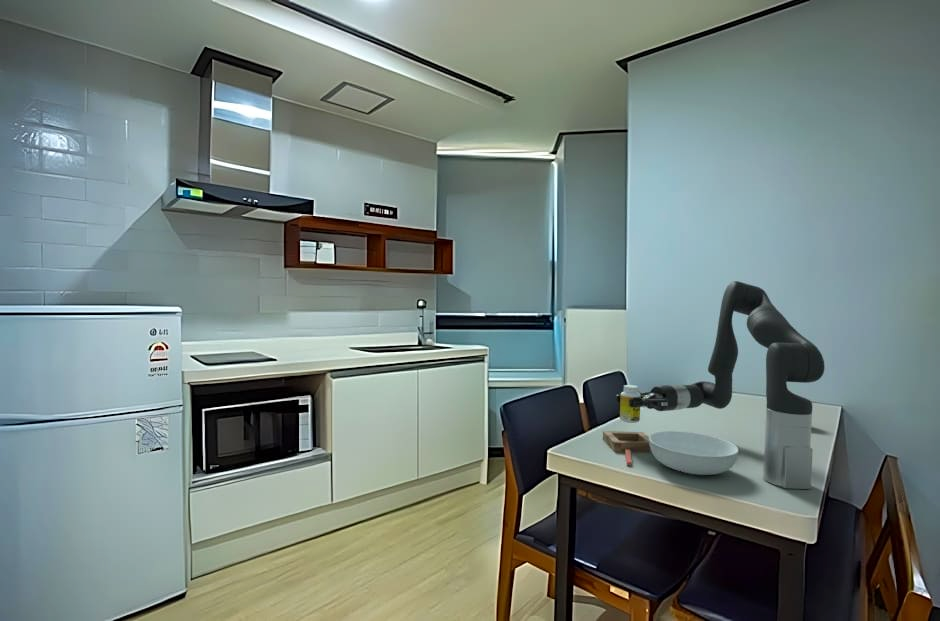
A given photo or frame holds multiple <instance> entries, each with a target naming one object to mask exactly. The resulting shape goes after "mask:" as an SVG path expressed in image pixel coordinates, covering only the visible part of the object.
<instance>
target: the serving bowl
mask: <svg viewBox="0 0 940 621" xmlns="http://www.w3.org/2000/svg"><path fill="white" fill-rule="evenodd" d="M648 437H649V445H650V449H651V451H652V452H651V453H652V455H653V456H654V457H655V459H656V460H657V461H658V462H659V463H661V464H662V465H664V466H666V467H668V468H671V469H673V470H676V471H678V472H680V471H681V473H683V472H684V473H685V474H687V473H688V475H694V474H695V475H697V476H706V475H707V476H709V475H711V476H712V475H718V474H723V473H725V472H726V471H729V470H730V469H731V468H733V467H734V465H735V464H736V462H737V459H738V458H739V457H738V456H739V451H740V450H739V448H738V447H737V446H736V445H735V444H733V443H732V442H729V441H727V440H725V439H723V438H719V437H716V436H712V435H706V434H702V433H697V432H696V433H695V432H688V431H673V430H672V431H660V432H655V433H652V434H650V435H649V436H648ZM695 475H694V476H695Z"/></svg>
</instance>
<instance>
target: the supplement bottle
mask: <svg viewBox="0 0 940 621" xmlns="http://www.w3.org/2000/svg"><path fill="white" fill-rule="evenodd" d="M638 391H639V387H638V385H634V384H625V385H623V391H622V392H621V393H620V395H621V400H620V403H619V404H620V406H619V407H620V410H619V419H620V421H622V422H623V423H629V424H633V423H635V424H637V423H639V422H640V421H641V420H640V419H641V414H640V413H641V407H629V400H630V399H639V398H640V399H641V395H640V394H639V393H637V392H638Z"/></svg>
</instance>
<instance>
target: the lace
mask: <svg viewBox="0 0 940 621" xmlns="http://www.w3.org/2000/svg"><path fill="white" fill-rule="evenodd" d="M624 454H625V462H627V463H626V466H627V465H629V466H628V467H633V465H632V464H633V460H632V455H631V454H632V453H631V452H630V449H625V452H624Z"/></svg>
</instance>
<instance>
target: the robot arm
mask: <svg viewBox="0 0 940 621" xmlns="http://www.w3.org/2000/svg"><path fill="white" fill-rule="evenodd" d="M720 304H721V305H720V312H719V318H718V324H717V331H716V337H715V342H714V343H715V344H714V347H713V349H712V354H711V356H710V359H709V363H708V367H707V372H708V373H709V374H710V375H712V376H714V381H715V382H710V381H698V382H694V383H691V384H682V385H681V384H667V385H655V386H653V387H652V388H651V390H650V391H647V390H645V391H639V390H638V392H637V393H639V394H640V395H641V399H640V398H639V399H630V400H629V407H640V408H643V409H645V408H647V409H649V410H655V411H657V412H666V411H667V412H670V411H679V410H684V409H695V408H698V407H701V405H702V404H704V405H706V406H710V407H712V408H715V409H719V410H721V409H725V408H726V407H727V406H728V405H729V404H730V403H731V401H732V397H733V373H734V370H735V367H736V363H737V361H738V360H737V359H738V356H739V347H738V342H737V338H736V336H735V332H734V328H733V327H734V326H733V315H734V312H735V313H738V314H742V315H744V316H748V317H747V319H746V326H747V327H746V328H747V330H748V332H749V333H750V334H751V336H752V338H753V339H754V340H755V342H757V343H758V344H759V345H760V346H762V347H764V348H765V349H767V351H766V355H765V356H766V357H765V378H766V379H765V380H766V381H765V383H766V384H765V385H766V386H765V387H766V388H765V394H766V395H765V397H766V405H765V406H766V412H765V414H766V415H765V430H764V431H765V433H764V452H763V453H764V454H763V479H764V480H765V481H766V482H768V483H769V484H772V485H775V486H778V487H781V488H783V489H792V490H793V489H794V490H795V489H796V490H797V489H799V490H800V489H801V490H811V489H812V471H813V470H812V469H813V452H814V450H813V448H812V446H811V441H812V438H811V437H812V424H813V422H812V421H813V403H812V401H811V400H810V399H808V398H806V397H803V396H801V395H798V394H795V393H793V392H792V391H790V390H789V388H788V384H787V382H789V383H800V384H801V383H815V382H816V381H820V379H821V378H822V377H823V376H824V373H825V360H824V357H823V354H822V353H821V351H820V349H819V348H818V347H817V346H816V345H815V344H814V343H812V342H811V341H810V340H809V339H807V338H806V337H804V336H803V335H802V334H800V332H799V331H797V330H796V328H794V327H793V326H792V325H791V323H790V322H789V321H788V320H787V319H786V318H785V316H784V315H783V314H782V313H781V312H780V311H779V309H777V308H776V306H775V305H774V304H773V302H772V301H771V300H770V298H769V296H768V293H766V291H765V290H764V289H763V288H761V287H759V286H757V285H753V284H748V283H745V282H742V281H739V280H734V281H732V282H730V283H729V284H728V285H727V286H726V288H725V290H724V293H723V296H722V299H721V303H720ZM620 400H621V394H616V395H615V403H619V404H620Z"/></svg>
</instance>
